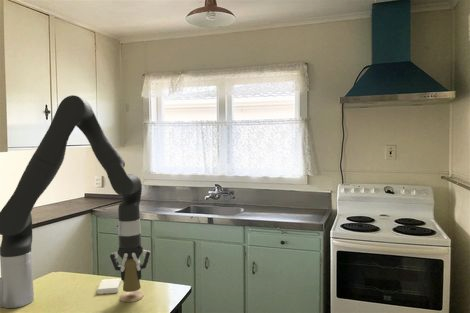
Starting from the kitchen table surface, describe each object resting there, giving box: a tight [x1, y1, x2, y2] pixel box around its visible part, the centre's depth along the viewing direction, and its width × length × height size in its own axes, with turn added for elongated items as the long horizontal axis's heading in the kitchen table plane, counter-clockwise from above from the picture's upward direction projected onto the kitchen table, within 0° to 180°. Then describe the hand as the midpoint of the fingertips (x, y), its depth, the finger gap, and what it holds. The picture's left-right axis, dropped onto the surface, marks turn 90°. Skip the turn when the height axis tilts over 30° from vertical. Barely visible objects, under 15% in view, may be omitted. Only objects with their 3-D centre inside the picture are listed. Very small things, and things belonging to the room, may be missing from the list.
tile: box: [97, 277, 123, 295], centre depth 137 cm, size 7×2×9 cm
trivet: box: [119, 290, 145, 303], centre depth 129 cm, size 8×8×1 cm
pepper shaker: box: [122, 258, 141, 293], centre depth 129 cm, size 6×6×11 cm
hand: (131, 280), depth 129 cm, fingers closed on pepper shaker, 4 cm apart
